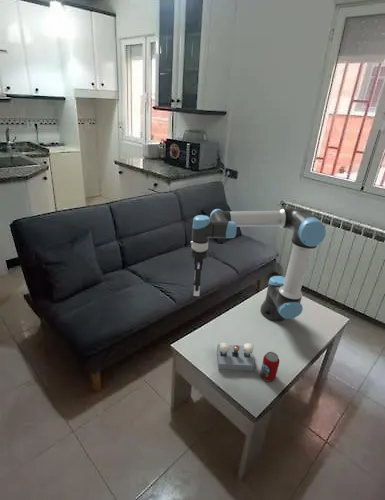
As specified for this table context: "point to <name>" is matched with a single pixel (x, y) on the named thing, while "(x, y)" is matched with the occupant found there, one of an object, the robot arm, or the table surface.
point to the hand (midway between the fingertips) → (196, 287)
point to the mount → (235, 360)
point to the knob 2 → (248, 348)
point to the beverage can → (269, 366)
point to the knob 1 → (224, 347)
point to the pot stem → (236, 349)
